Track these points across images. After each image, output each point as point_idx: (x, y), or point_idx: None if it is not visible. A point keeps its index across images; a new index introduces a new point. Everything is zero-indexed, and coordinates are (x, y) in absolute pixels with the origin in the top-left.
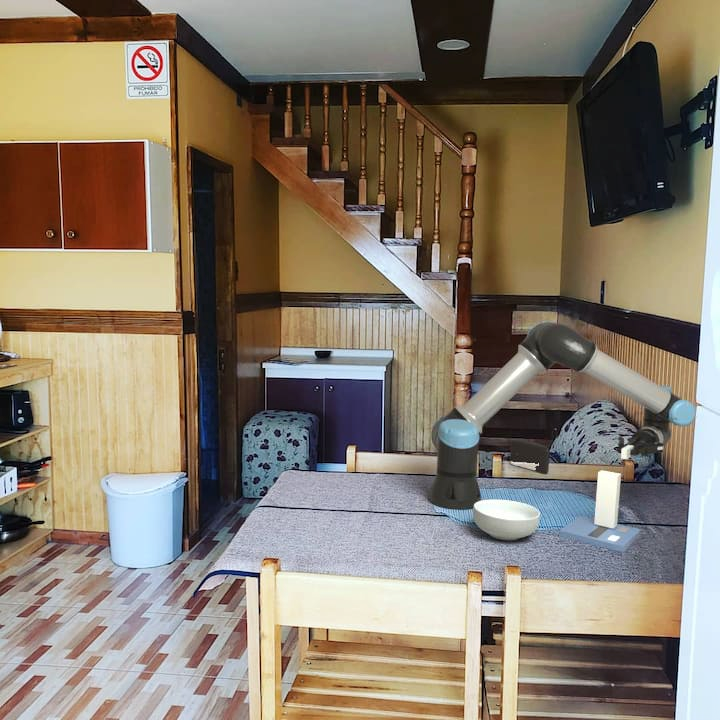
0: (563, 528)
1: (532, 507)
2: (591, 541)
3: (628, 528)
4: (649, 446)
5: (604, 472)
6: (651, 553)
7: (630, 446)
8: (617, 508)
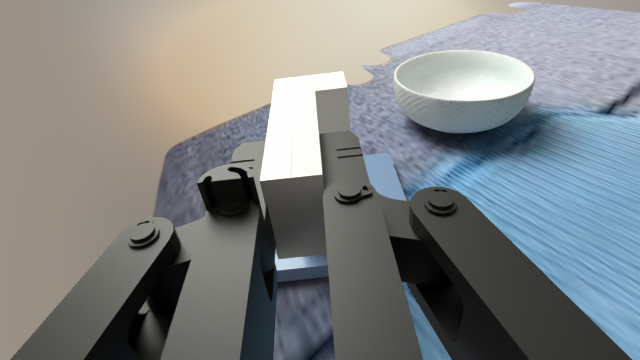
0: (390, 163)
1: (444, 99)
2: None
3: None
4: (47, 320)
5: (326, 79)
6: (205, 206)
7: (281, 142)
8: None
